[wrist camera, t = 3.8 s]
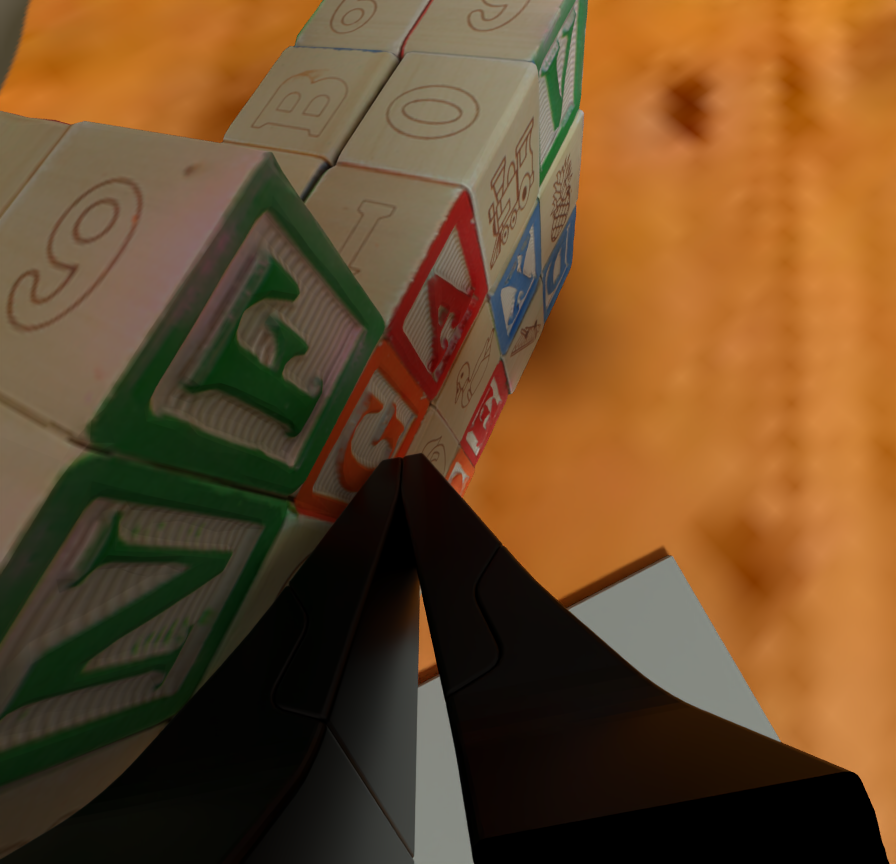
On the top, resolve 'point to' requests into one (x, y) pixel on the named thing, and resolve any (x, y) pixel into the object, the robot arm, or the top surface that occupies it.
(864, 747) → the top surface
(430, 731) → the grey rubber mat
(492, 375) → the stack of blocks
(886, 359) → the top surface
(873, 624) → the top surface
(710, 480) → the top surface
